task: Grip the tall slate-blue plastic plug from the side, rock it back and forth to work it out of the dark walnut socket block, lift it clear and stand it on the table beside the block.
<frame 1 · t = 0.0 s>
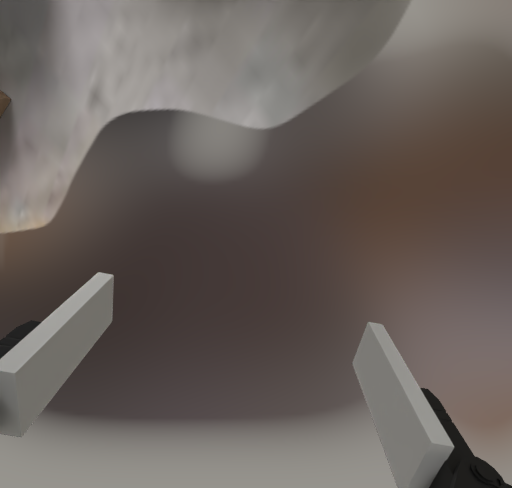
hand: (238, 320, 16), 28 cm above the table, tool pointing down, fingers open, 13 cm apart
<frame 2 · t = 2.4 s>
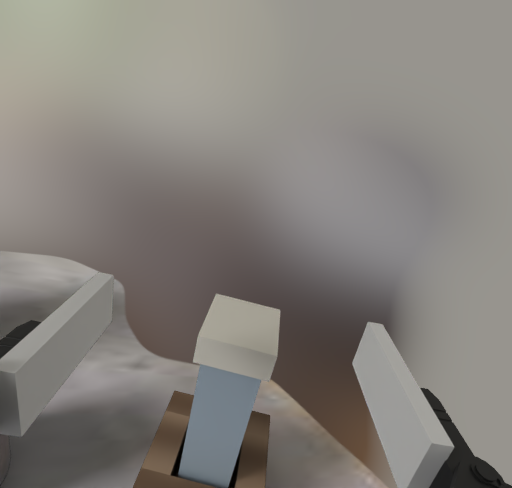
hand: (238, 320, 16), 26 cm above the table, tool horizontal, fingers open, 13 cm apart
plug: (202, 482, 32), point 1 cm above the table, touching socket block
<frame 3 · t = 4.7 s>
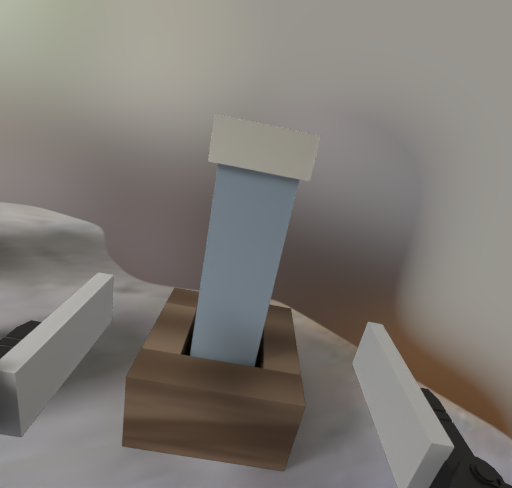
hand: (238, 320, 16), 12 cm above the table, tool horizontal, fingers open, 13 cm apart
socket block: (215, 393, 26), on the table
plug: (217, 384, 26), point 1 cm above the table, touching socket block
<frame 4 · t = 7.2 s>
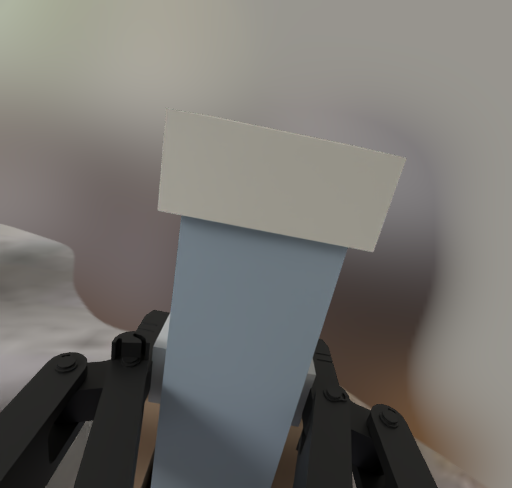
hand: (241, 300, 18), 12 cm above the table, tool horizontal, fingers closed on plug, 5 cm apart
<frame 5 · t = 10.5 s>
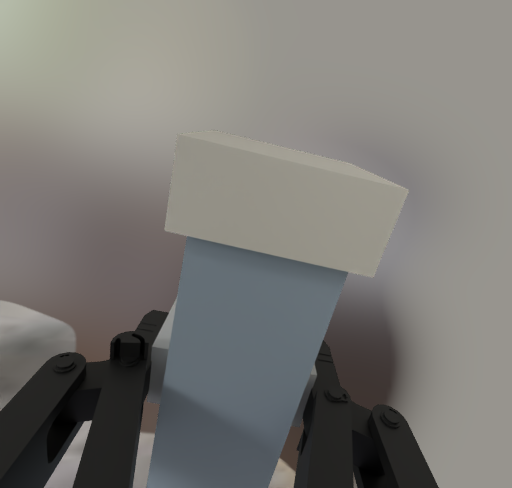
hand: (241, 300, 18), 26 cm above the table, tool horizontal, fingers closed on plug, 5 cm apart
when the fingers open (12 cm above the table, at t = 14.2 s): plug stays where it is, on the table.
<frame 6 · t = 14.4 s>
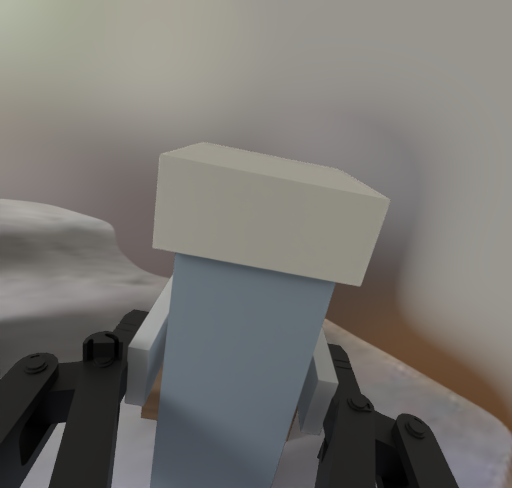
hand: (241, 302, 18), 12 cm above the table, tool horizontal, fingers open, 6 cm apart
socket block: (223, 374, 29), on the table
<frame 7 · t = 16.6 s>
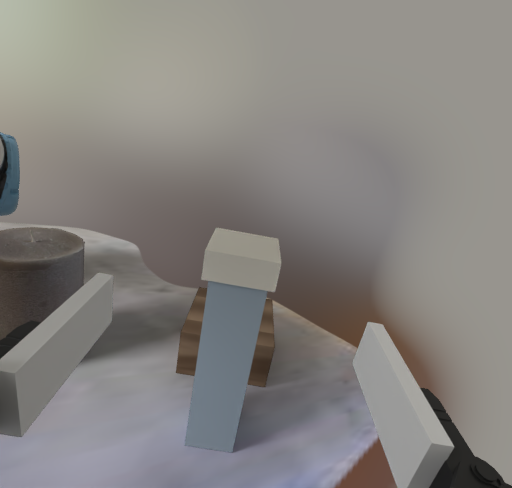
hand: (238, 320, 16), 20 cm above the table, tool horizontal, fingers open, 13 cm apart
socket block: (225, 350, 44), on the table
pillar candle: (39, 346, 39), on the table
plug: (212, 427, 32), on the table
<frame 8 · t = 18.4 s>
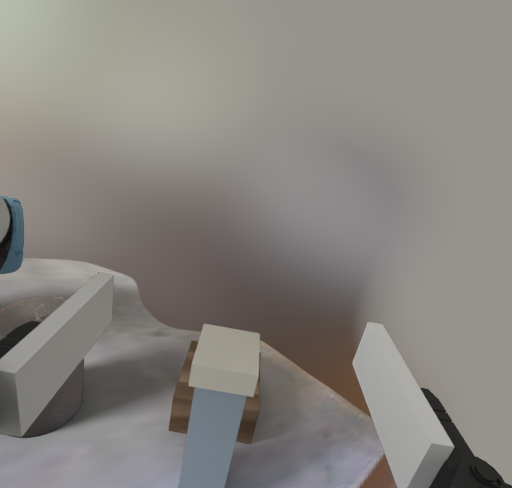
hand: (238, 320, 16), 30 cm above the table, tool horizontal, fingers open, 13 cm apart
socket block: (215, 403, 47), on the table
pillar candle: (43, 405, 42), on the table
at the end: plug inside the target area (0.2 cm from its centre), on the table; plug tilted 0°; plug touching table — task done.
